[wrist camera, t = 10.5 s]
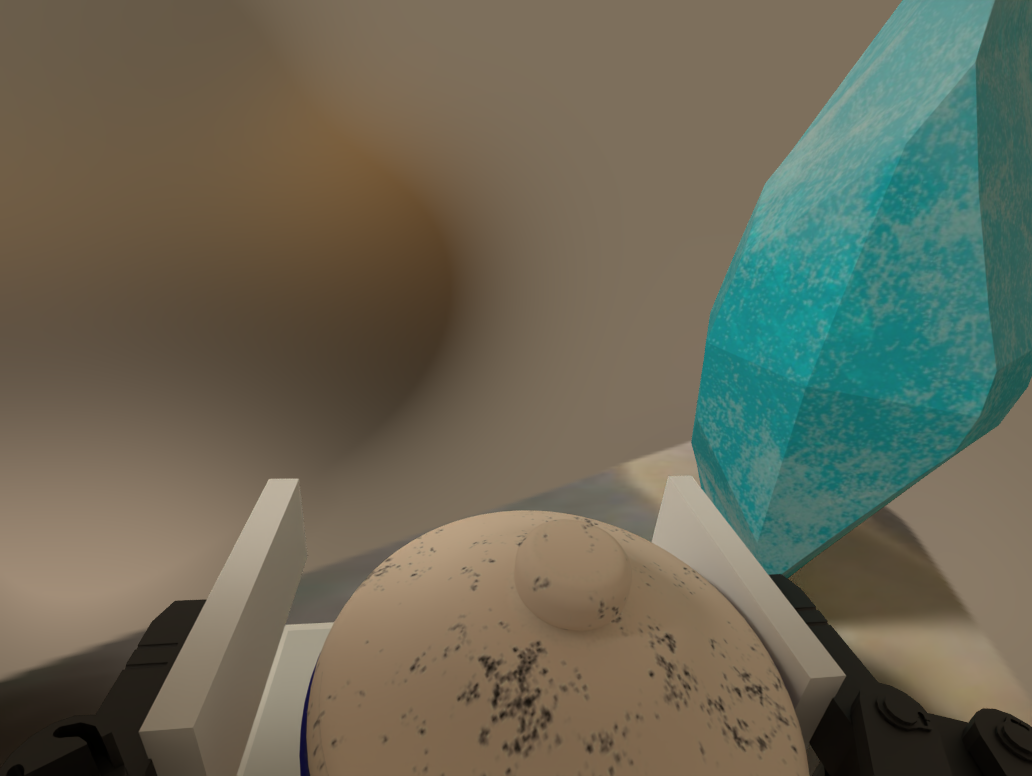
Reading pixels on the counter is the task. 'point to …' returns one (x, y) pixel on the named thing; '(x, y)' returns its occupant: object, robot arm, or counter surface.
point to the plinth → (284, 704)
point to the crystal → (877, 286)
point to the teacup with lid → (544, 663)
